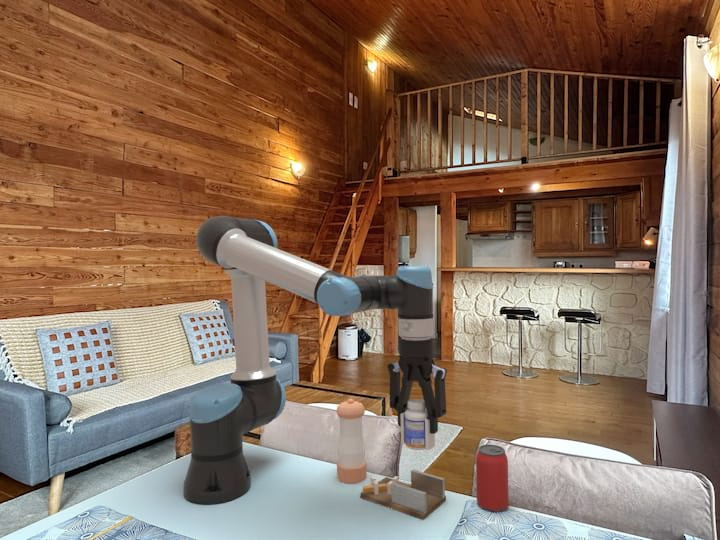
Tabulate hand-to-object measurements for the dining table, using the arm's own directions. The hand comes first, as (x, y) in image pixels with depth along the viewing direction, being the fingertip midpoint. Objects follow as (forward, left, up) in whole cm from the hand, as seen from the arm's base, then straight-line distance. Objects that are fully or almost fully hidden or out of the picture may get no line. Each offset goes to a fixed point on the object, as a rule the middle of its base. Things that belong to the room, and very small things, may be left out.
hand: (417, 444), depth 103 cm
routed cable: (-9, -1, -12) cm, 15 cm away
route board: (-4, 0, -13) cm, 14 cm away
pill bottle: (0, 0, -1) cm, 1 cm away
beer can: (+13, +9, -13) cm, 21 cm away
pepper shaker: (-20, +2, -13) cm, 24 cm away
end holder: (0, 0, -13) cm, 13 cm away
